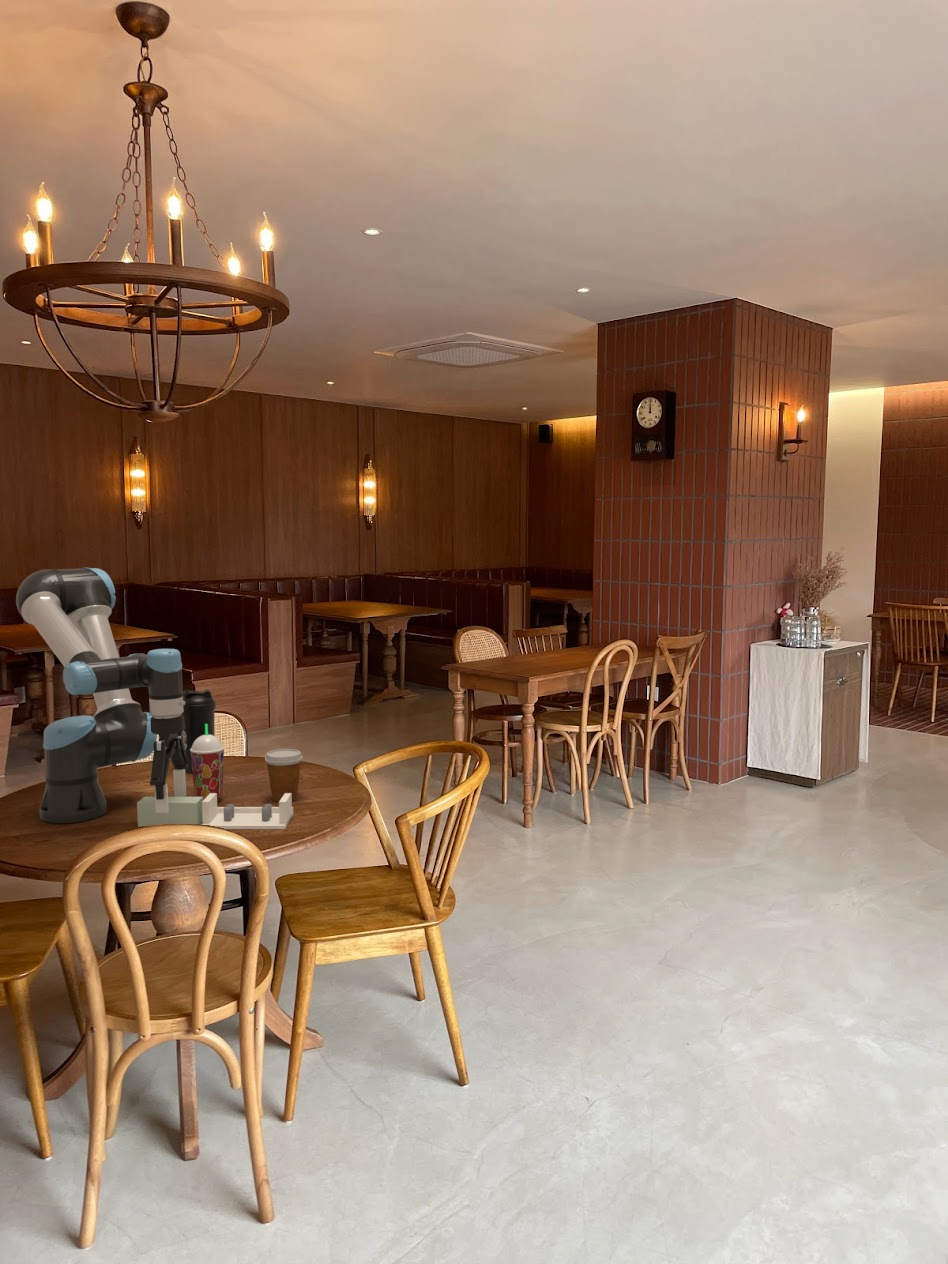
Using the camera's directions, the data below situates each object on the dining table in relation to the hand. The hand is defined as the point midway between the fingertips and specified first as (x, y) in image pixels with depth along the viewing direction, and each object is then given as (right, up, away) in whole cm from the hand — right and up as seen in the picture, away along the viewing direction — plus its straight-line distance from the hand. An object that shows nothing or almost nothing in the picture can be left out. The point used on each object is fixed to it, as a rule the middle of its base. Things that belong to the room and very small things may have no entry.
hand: (171, 804), depth 225 cm
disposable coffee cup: (+23, -3, +21) cm, 31 cm away
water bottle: (-7, +1, +49) cm, 49 cm away
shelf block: (0, -5, +1) cm, 5 cm away
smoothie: (+4, -3, +19) cm, 19 cm away
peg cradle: (+18, -5, +2) cm, 18 cm away
